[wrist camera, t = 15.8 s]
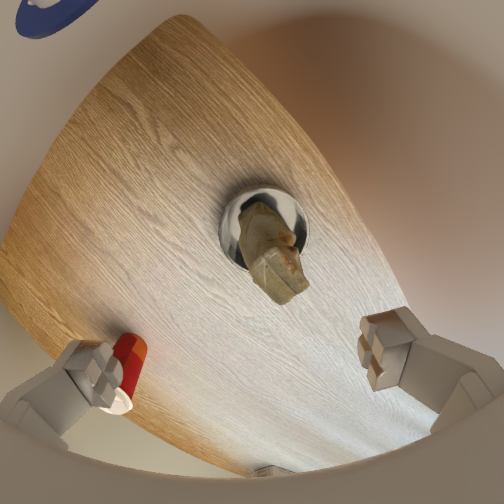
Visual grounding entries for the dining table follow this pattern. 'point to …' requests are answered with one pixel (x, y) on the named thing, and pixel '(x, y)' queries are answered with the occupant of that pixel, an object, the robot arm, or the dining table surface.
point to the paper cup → (127, 371)
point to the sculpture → (271, 253)
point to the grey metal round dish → (276, 201)
